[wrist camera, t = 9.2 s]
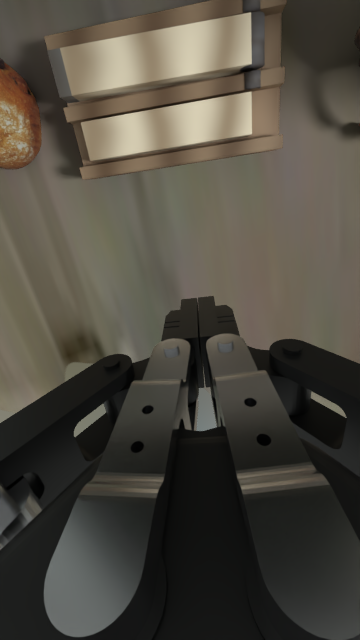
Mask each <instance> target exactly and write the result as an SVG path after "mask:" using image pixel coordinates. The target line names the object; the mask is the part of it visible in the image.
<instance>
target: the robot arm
mask: <svg viewBox="0 0 360 640" xmlns="http://www.w3.org/2000/svg"><path fill="white" fill-rule="evenodd" d="M198 306H199V311H198ZM203 367H204V374H203ZM204 375H205V384H206V387H211V396H212V404H213V409H214V415H215V421H216V426H217V427H216V428H213V429H210V430H206V431H196V430H197V416H198V393H199V388H204ZM311 391H313V392H314V393H316V394H318V395H320V396H322V397H324V398H326V399H327V400H329V401H331V402H333V403H335V404H337V405H338V406H339V407H340V408H341V409H342V410H343V411H344V412H345V414H346V417H347V418H345V417H343V416H341V415H340V414H338V413H336V412H334V411H332V410H331V409H329V408H327V407H325V406H324V405H322V404H320V403H318V402H316V401H315V400H313V399H311ZM101 404H104V406H105V409H106V413H105V414H104V415H103V416H101V417H100V418H99V419H98V420H96V421H95V422H94V423H93V424H91V425H90V426H89V427H88V428H86V429H85V430H84V431H83V432H81V433H80V434H79V435H78V436H76V437H74V429H75V427H76V425H77V424H78V422H79V421H81V420H82V419H83V418H84V417H86V416H87V415H88V414H90V413H91V412H92V411H93V410H95V409H96V408H97V407H99V406H100V405H101ZM0 640H360V364H359V363H356V362H354V361H351V360H349V359H346V358H344V357H341V356H339V355H336V354H334V353H331V352H329V351H326V350H324V349H321V348H319V347H316V346H314V345H311V344H309V343H306V342H304V341H300V340H296V339H283V340H279V341H276V342H274V343H273V344H272V345H271V346H270V350H260V349H255V348H251V347H249V346H247V345H246V343H245V341H244V339H243V338H242V337H240V335H239V331H238V328H237V324H236V321H235V317H234V314H233V310H232V309H231V308H230V307H228V306H227V305H221V306H215V301H214V296H209V297H200V298H198V302H197V298H191V299H182V300H181V310H174V311H171V312H170V313H169V314H168V315H167V316H166V318H165V324H164V329H163V335H162V340H161V342H160V343H158V344H157V345H156V346H155V347H154V348H153V351H152V354H151V356H150V357H149V358H147V359H145V360H142V361H138V362H135V363H132V360H131V358H130V357H129V356H127V355H124V354H114V355H110V356H107V357H105V358H102V359H101V360H99V361H98V362H96V363H94V364H93V365H91V366H90V367H88V368H87V369H85V370H84V371H82V372H80V373H79V374H77V375H75V376H74V377H72V378H71V379H69V380H68V381H66V382H64V383H63V384H61V385H60V386H58V387H57V388H55V389H53V390H52V391H50V392H49V393H47V394H46V395H44V396H42V397H41V398H39V399H38V400H36V401H35V402H33V403H31V404H30V405H28V406H27V407H25V408H24V409H22V410H20V411H19V412H17V413H16V414H14V415H12V416H11V417H9V418H8V419H6V420H5V421H3V422H1V423H0Z"/></svg>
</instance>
